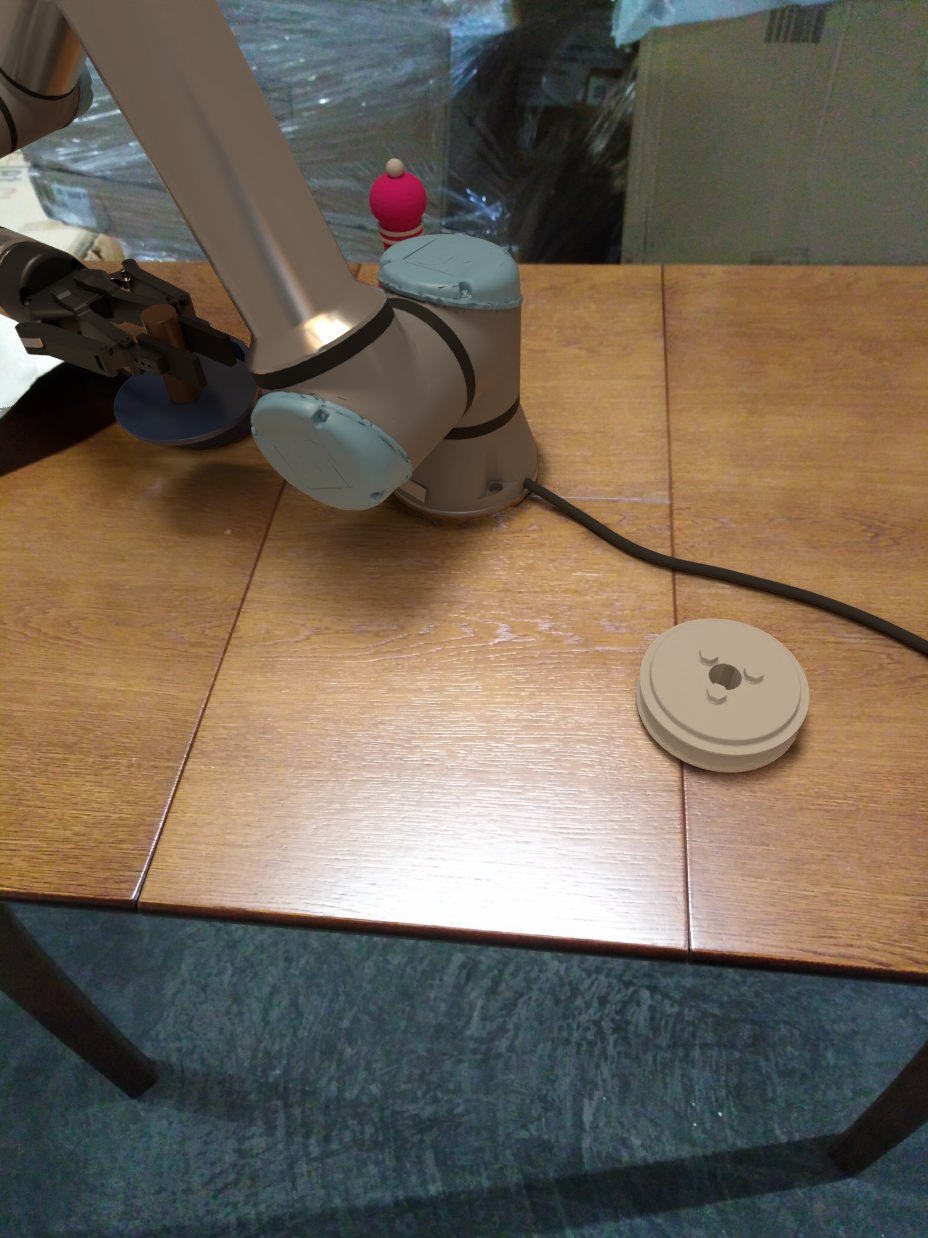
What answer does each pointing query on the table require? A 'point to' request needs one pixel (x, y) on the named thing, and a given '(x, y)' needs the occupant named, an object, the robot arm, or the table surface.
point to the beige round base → (721, 695)
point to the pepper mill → (398, 205)
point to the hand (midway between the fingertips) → (214, 361)
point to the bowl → (240, 428)
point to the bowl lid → (182, 394)
